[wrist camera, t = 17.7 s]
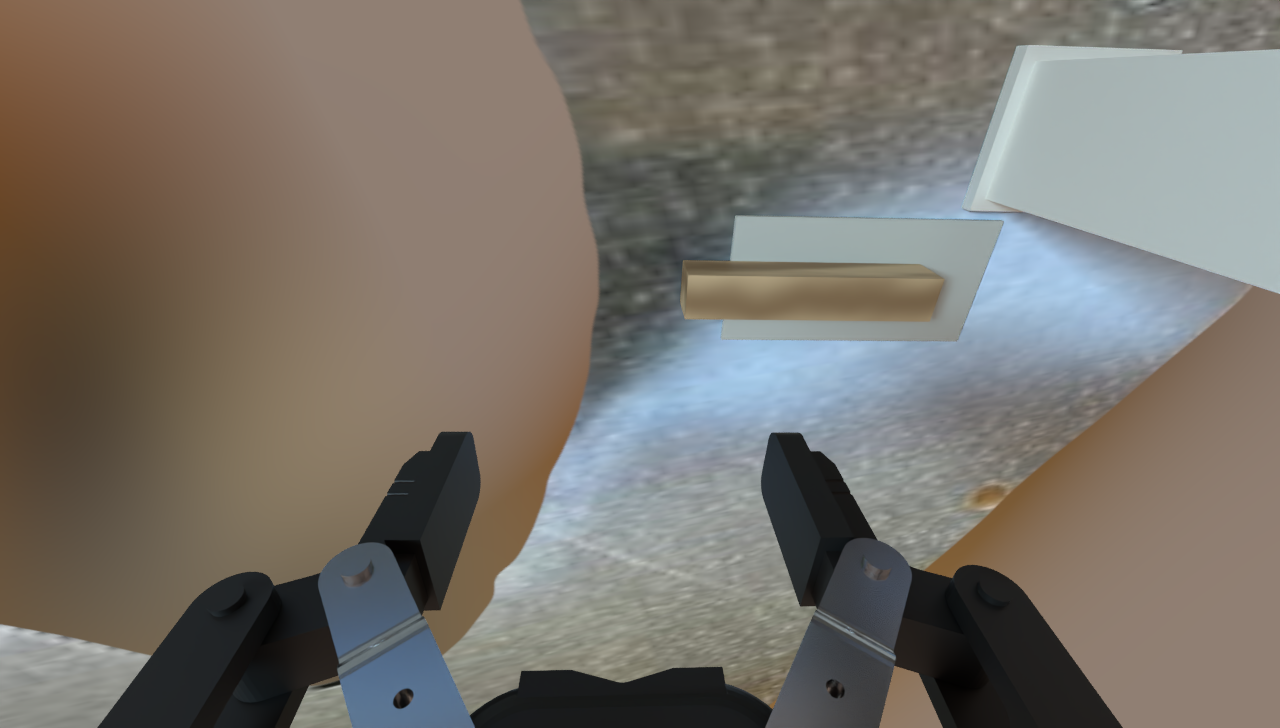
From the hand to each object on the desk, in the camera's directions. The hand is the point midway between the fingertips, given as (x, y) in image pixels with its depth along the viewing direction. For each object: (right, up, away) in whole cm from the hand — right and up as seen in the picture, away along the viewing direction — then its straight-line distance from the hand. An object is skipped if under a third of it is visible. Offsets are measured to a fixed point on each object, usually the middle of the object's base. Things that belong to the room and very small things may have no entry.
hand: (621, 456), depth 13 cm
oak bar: (+15, +10, +33) cm, 37 cm away
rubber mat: (+21, +10, +33) cm, 40 cm away
